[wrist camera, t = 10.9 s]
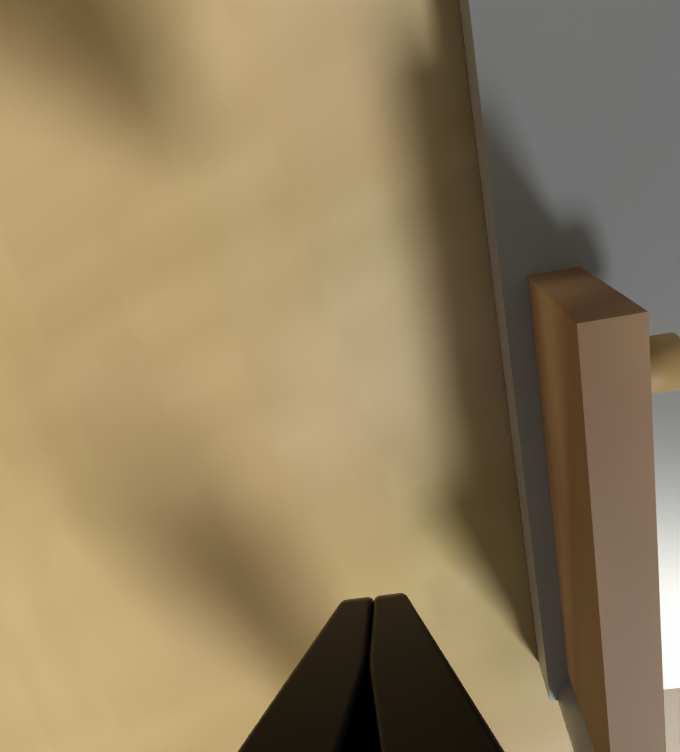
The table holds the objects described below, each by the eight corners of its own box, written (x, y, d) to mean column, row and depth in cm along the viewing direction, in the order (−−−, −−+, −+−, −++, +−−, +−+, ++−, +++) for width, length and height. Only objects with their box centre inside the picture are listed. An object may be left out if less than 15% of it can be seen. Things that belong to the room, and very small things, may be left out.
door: (633, 256, 12) (721, 299, 9) (653, 664, 16) (722, 799, 13) (527, 275, 13) (576, 323, 9) (567, 674, 16) (614, 808, 13)
